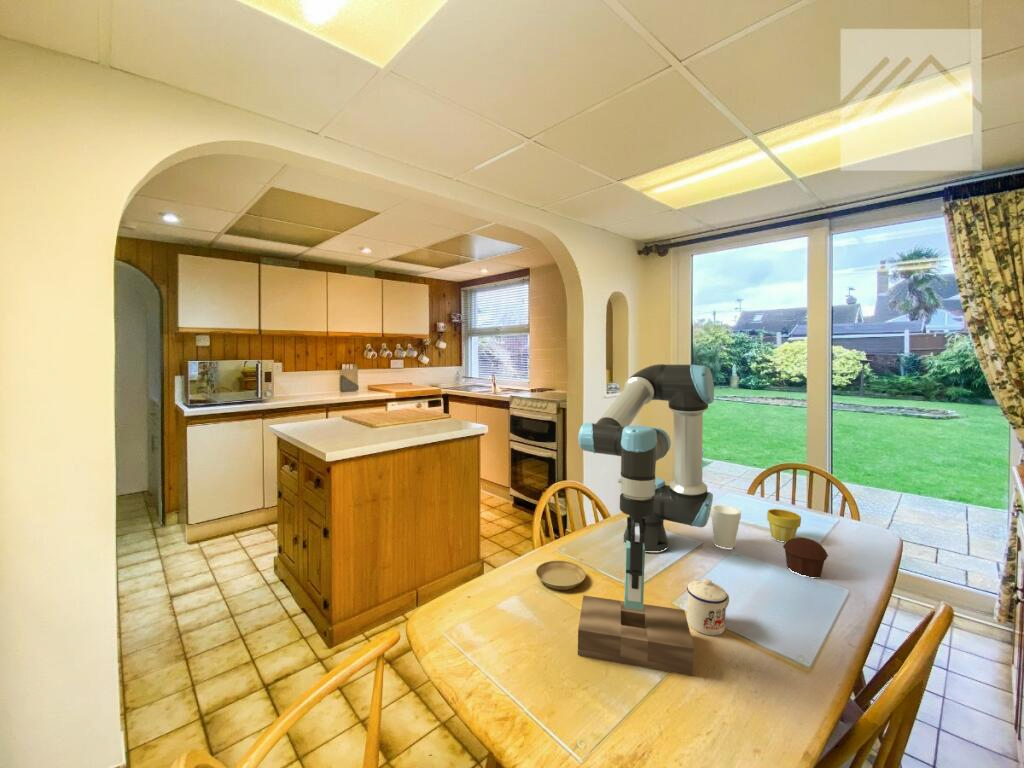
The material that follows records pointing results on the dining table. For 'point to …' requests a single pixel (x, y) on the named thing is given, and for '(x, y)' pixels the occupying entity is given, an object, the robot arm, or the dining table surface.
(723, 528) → the foam cup
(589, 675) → the dining table surface
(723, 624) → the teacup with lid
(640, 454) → the robot arm
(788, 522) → the plant pot
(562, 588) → the plant saucer
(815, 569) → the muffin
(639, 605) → the peg
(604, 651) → the hole board
